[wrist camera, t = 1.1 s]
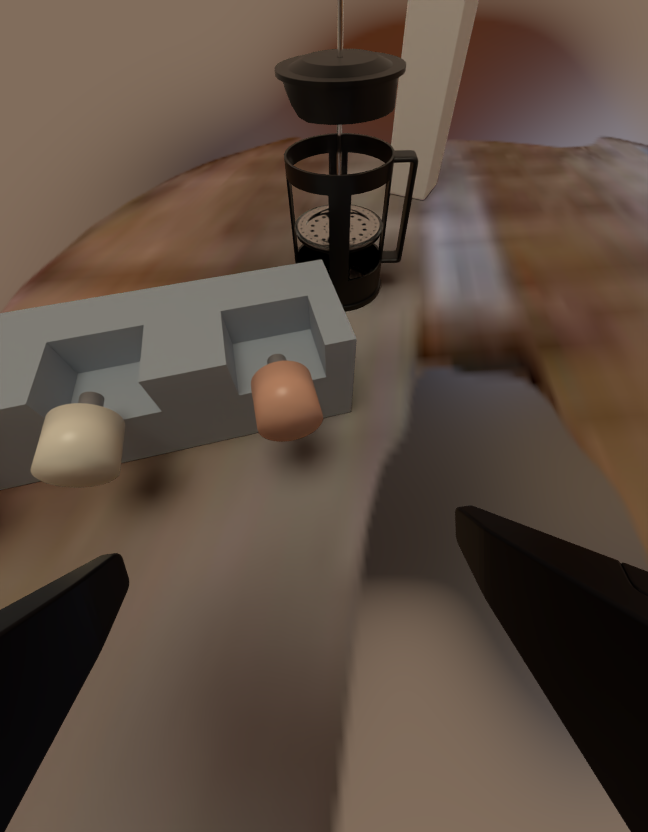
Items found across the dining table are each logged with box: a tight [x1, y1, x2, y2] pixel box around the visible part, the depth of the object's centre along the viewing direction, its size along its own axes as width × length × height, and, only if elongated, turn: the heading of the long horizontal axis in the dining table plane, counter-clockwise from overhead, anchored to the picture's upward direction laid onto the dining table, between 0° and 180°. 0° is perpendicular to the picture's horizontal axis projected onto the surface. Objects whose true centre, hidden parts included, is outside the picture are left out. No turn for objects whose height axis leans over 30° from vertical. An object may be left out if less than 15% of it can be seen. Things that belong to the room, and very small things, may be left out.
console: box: [0, 259, 356, 490], centre depth 24 cm, size 9×32×8 cm, turn 104°
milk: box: [390, 0, 479, 200], centre depth 39 cm, size 6×6×22 cm
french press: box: [275, 0, 418, 311], centre depth 26 cm, size 12×9×23 cm
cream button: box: [31, 392, 125, 488], centre depth 17 cm, size 5×4×4 cm
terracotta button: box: [251, 354, 323, 442], centre depth 19 cm, size 5×4×4 cm
